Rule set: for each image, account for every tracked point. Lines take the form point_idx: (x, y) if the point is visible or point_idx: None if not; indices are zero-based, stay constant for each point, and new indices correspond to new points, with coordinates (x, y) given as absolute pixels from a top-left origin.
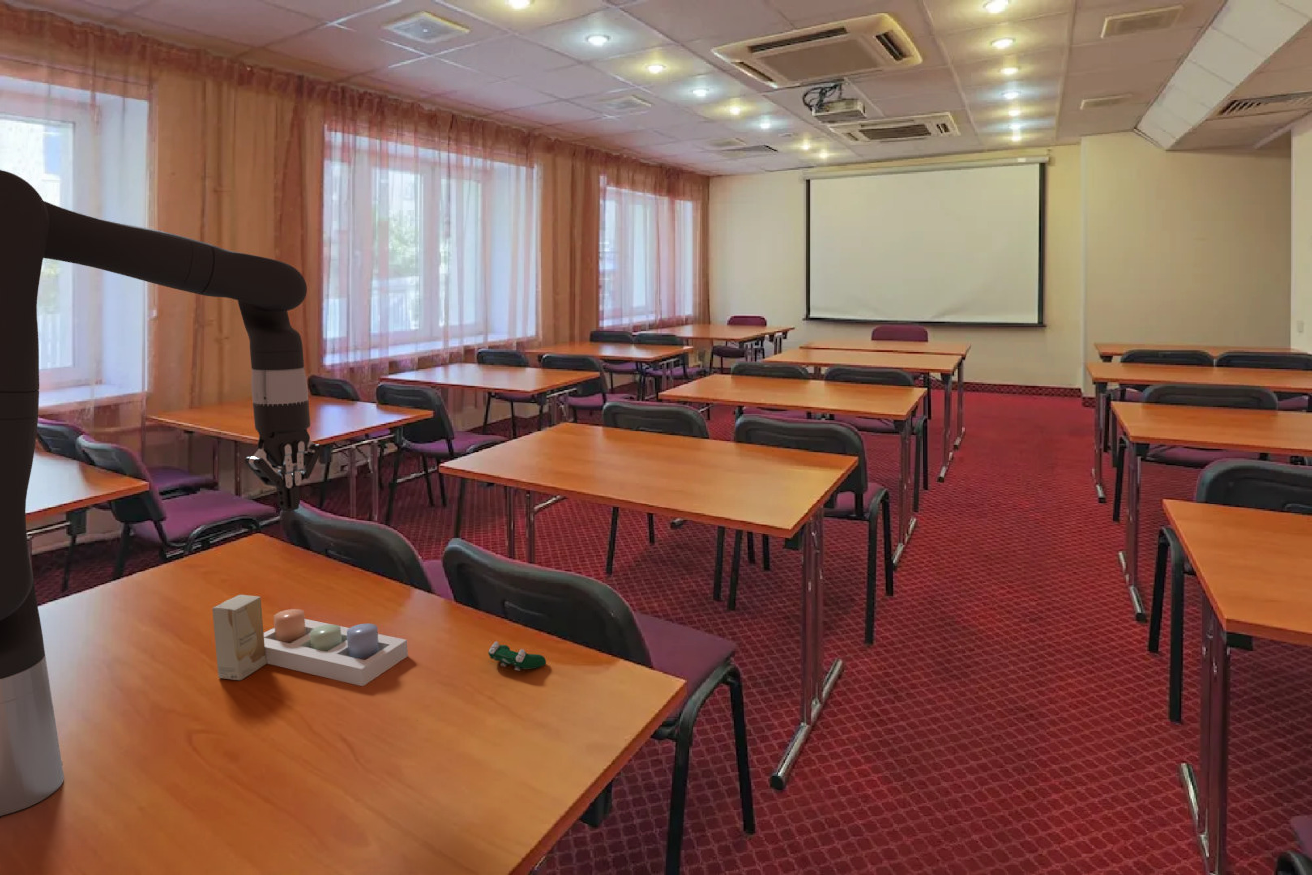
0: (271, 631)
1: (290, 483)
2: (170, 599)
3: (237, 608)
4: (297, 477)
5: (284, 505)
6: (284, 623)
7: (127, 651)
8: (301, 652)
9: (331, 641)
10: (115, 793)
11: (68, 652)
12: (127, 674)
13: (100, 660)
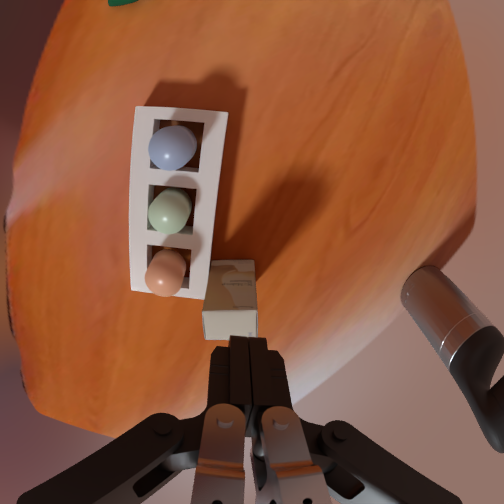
0: None
1: (281, 421)
2: (142, 410)
3: (250, 311)
4: (227, 437)
5: (283, 363)
6: (180, 272)
7: None
8: (208, 219)
9: (178, 195)
10: (425, 225)
11: None
12: None
13: None
